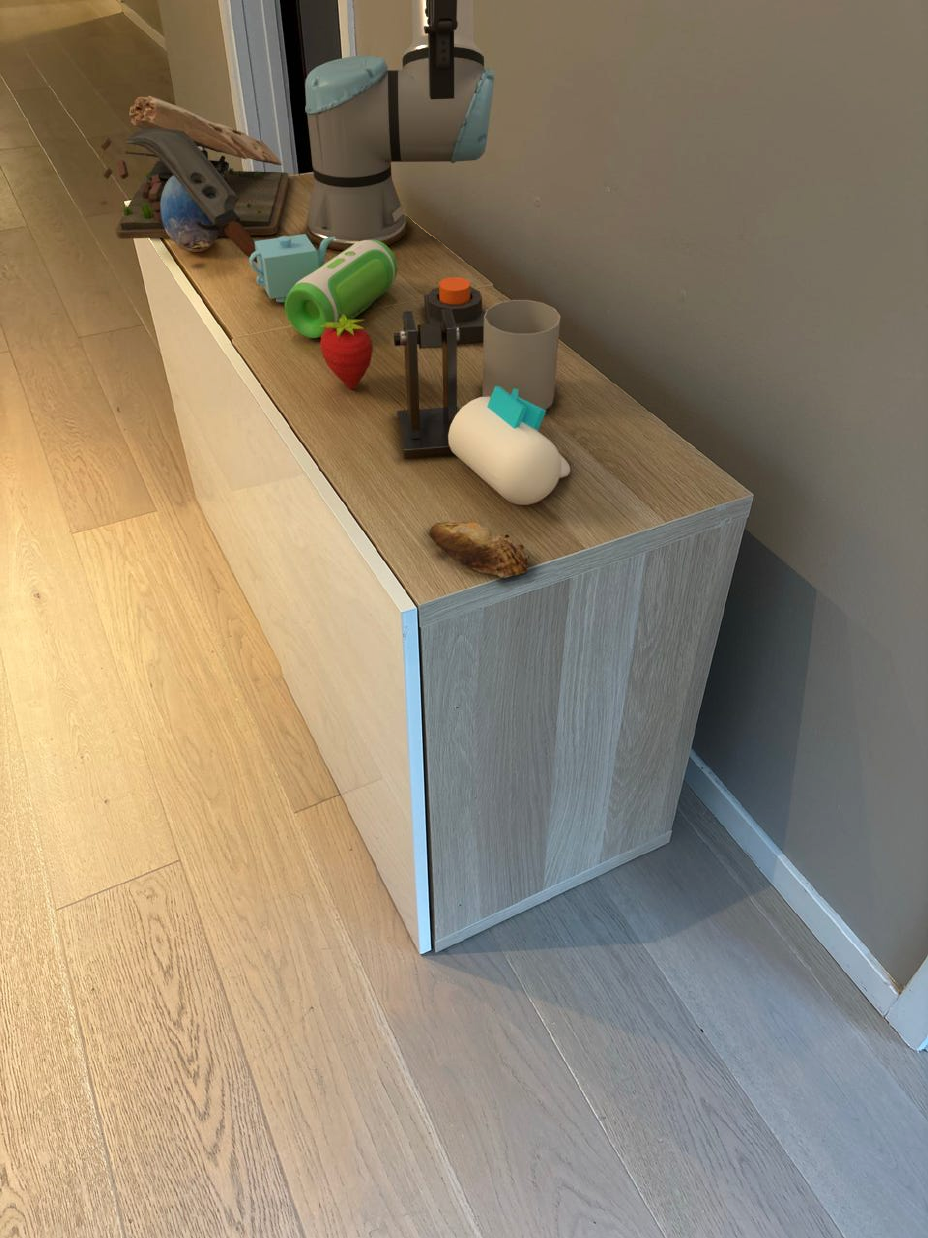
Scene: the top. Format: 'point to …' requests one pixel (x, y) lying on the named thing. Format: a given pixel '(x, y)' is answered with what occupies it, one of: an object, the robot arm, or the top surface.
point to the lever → (425, 336)
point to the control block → (458, 315)
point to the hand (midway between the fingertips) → (441, 96)
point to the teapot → (286, 262)
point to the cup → (521, 350)
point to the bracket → (418, 426)
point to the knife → (197, 168)
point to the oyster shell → (480, 548)
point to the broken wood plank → (199, 130)
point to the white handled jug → (507, 446)
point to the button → (454, 290)
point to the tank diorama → (253, 189)
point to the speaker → (341, 287)
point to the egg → (185, 218)
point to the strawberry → (346, 350)
